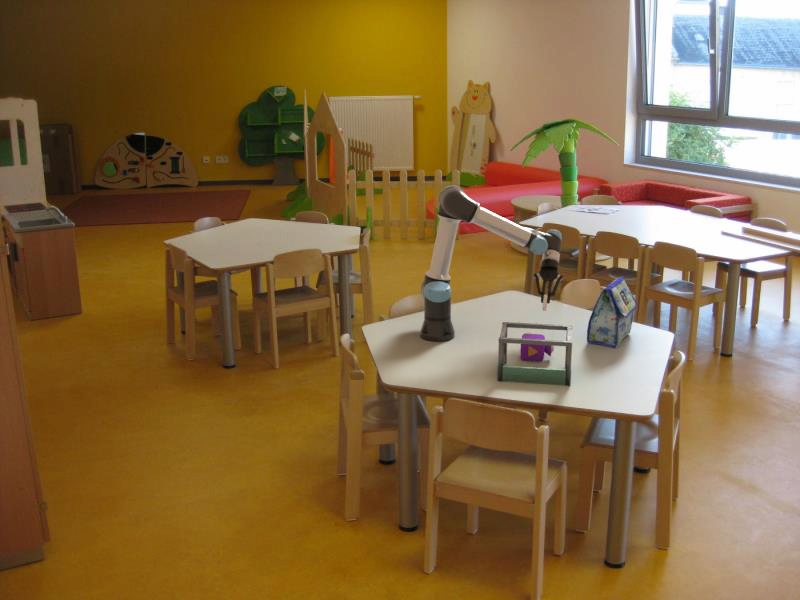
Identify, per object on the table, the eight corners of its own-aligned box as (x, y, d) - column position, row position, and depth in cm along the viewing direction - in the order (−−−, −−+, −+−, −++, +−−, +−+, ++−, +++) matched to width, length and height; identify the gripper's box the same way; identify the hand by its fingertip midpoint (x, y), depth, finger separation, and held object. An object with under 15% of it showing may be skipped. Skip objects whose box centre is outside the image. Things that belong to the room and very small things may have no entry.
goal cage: (497, 381, 327) (498, 338, 322) (501, 362, 346) (502, 321, 341) (570, 386, 322) (572, 342, 317) (570, 366, 341) (572, 325, 336)
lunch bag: (622, 350, 359) (627, 290, 351) (584, 343, 367) (587, 285, 359) (636, 334, 377) (640, 277, 370) (599, 329, 385) (602, 273, 378)
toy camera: (555, 363, 345) (556, 339, 342) (521, 363, 345) (521, 340, 343) (550, 353, 356) (551, 331, 353) (517, 354, 356) (518, 331, 353)
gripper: (534, 257, 377) (528, 304, 366) (564, 258, 373) (559, 306, 363) (536, 265, 383) (529, 312, 373) (565, 267, 380) (559, 314, 369)
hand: (544, 309), depth 368 cm, fingers closed
